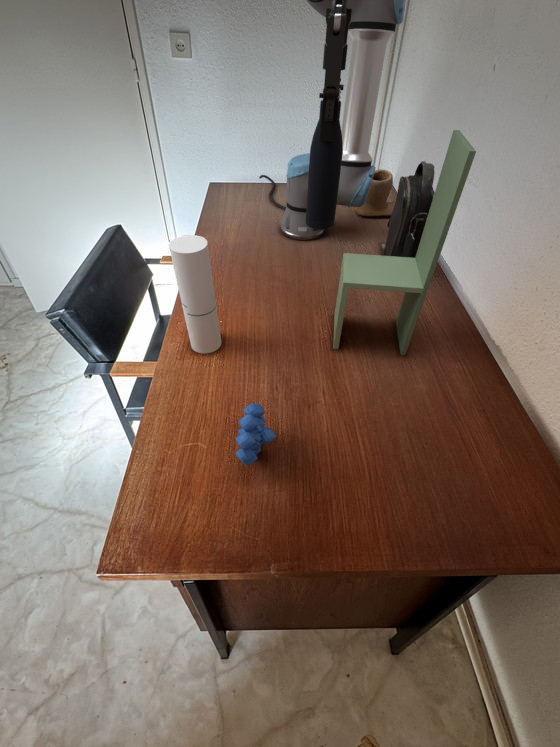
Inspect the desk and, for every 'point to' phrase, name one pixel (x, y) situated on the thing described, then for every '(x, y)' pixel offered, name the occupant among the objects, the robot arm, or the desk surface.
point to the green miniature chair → (418, 270)
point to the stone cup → (378, 196)
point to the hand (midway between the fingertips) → (327, 136)
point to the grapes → (252, 434)
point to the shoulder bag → (410, 212)
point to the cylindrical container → (196, 291)
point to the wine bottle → (324, 169)
